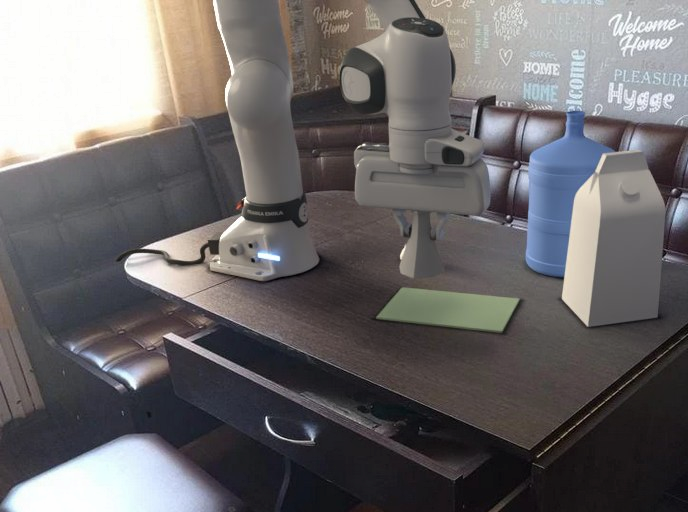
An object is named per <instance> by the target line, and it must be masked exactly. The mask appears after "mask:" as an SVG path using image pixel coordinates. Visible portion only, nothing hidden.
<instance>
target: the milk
mask: <svg viewBox="0 0 688 512" xmlns="http://www.w3.org/2000/svg"><path fill="white" fill-rule="evenodd" d="M665 224H666V203H665V201H664V197H663V195H662V194H661V192H660V189H659V187H658V185H657V182H656V181H655V179H654V177H653V174H652V173H651V170H650V169H649V165H648V162H647V159H646V156H645V154H644V151H643V150H641V149H633V150H632V149H631V150H623V151H615V152H612V153H603V154H602V157H601V159H600V161H599V164H598V166H597V168H596V170H595V173H594V174H593V175H592V176H591V177H590V178H589V179H588V180H587V181H586V182H585V183H584V184H583V186H582V187H581V188H580V189H579V190H578V192H577V193H576V195H575V199H574V205H573V213H572V221H571V229H570V237H569V245H568V253H567V261H566V269H565V277H564V278H563V285H562V294H561V300H562V301H563V302H564V303H565V304H566V305H567V306H568V307H569V309H570V310H571V311H572V312H573V313H574V314H575V315H576V316H577V317H578V318H579V319H580V321H581V322H582V323H583V324H585V326H586V327H587V328H592V327H598V326H605V325H612V324H620V323H627V322H634V321H642V320H649V319H656V318H658V317H659V305H660V292H661V277H662V266H663V265H662V264H663V254H664V253H663V252H664V251H663V250H664V240H665Z"/></svg>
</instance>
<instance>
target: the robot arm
mask: <svg viewBox="0 0 688 512" xmlns="http://www.w3.org/2000/svg"><path fill="white" fill-rule="evenodd" d="M212 1H213V7H214V13H215V19H216V24H217V29H218V30H219V32H220V35H221V38H222V41H223V45H224V48H225V51H226V56H227V59H228V62H229V66H230V71H231V75H230V76H229V79H228V81H227V83H226V86H225V92H224V93H225V94H224V95H225V96H224V97H225V105H226V108H227V112H228V116H229V122H230V125H231V130H232V134H233V137H234V141H235V144H236V148H237V151H238V155H239V159H240V164H241V165H240V166H241V171H242V177H243V183H244V190H245V195H246V196H245V197H244V198H242V199H241V200H240V201H239V202H237V203H236V204H235V206H237V207H236V208H235V210H237V211H239V210H240V209H242V210H241V215H240V217H238V218H237V219H236V220H235V221H234V222H233V223H232V224H231V225H230V226H229V227H228V228H227V229H226V230H224V231H216V232H215V233H213V235H211V236H210V237H209V238H208V239H207V242H205V243H204V244H202V245H201V247H200V248H199V254H200V257H198V258H197V259H195V260H181V259H173V258H171V257H170V254H169V253H168V252H167V251H166V250H162V249H154V248H153V249H152V248H132V249H128V250H126V251H124V252H122V253H120V254H119V255H118V256H117V257H116V258H115V260H114V261H115V263H118V262H121V261H122V260H123V259H124V258H126V257H128V256H131V255H135V254H152V255H158V256H159V255H160V256H163V257H164V259H165V261H166V262H167V263H169V264H172V265H178V266H193V265H198V264H202V263H203V262H204V261H205V260H206V258H207V257H206V250H207V249H208V250H209V255H211V256H214V257H213V258H212V259H211V261H210V262H209V270H210V271H211V272H217V273H221V274H226V275H231V276H236V277H241V278H245V279H250V280H255V281H259V282H269V281H272V280H274V279H278V278H281V277H288V276H295V275H297V274H302V273H304V272H308V271H309V270H311V269H313V268H315V267H317V265H318V264H319V262H320V257H319V255H318V253H317V250H316V247H315V244H314V241H313V238H312V234H311V230H310V225H309V209H308V202H307V201H308V200H307V195H306V192H305V191H304V189H303V188H304V187H303V180H302V170H301V162H300V153H299V149H298V144H297V141H296V135H295V130H294V124H293V118H292V111H291V100H292V98H293V94H294V90H295V89H294V88H295V87H294V79H293V74H292V73H293V72H292V68H291V62H290V57H289V52H288V47H287V41H286V37H285V32H284V27H283V23H282V16H281V9H280V3H279V0H212ZM364 2H365V3H367V4H368V6H369V7H370V8H371V9H372V11H373V12H374V14H375V16H376V17H377V19H378V21H379V22H380V23H381V26H382V27H383V29H384V30H385V31H384V32H383V33H381V34H380V35H379V36H377V37H375V38H373V39H372V40H369V41H367V42H364V43H362V44H359V45H356V46H353V47H351V48H349V50H347V52H345V54H344V56H343V58H342V61H341V64H340V66H339V72H338V73H339V75H338V77H339V88H340V92H341V95H342V98H343V100H344V101H345V102H346V104H347V105H348V106H349V107H350V109H351V110H352V111H354V112H356V113H357V114H359V115H367V116H374V115H379V114H386V115H387V116H388V142H371V141H364V142H362V144H360V145H357V146H356V148H355V150H354V152H353V165H354V167H355V169H356V170H355V179H354V199H355V202H356V203H357V204H358V205H359V207H365V208H377V209H378V208H380V209H390V210H391V214H392V217H393V219H394V220H395V222H396V224H397V226H398V227H399V232H400V234H399V235H400V238H404V239H409V238H410V234H411V227H412V223H409V222H408V220H407V218H406V216H405V213H406V212H407V211H411V210H412V211H424V212H431V213H436V219H437V220H439V223H437V225H433V226H432V227H431V229H430V234H431V236H430V240H434V241H435V242H441V241H442V240H443V238H444V228H445V226H446V224H447V222H448V221H449V219H450V217H451V215H460V216H461V215H462V216H474V217H480V216H482V215H483V214H484V213H485V212H486V211H487V210H488V208H489V207H490V205H491V180H490V173H489V172H490V171H489V167H488V165H487V163H486V162H485V161H484V159H483V158H482V156H483V154H484V152H485V144H484V142H483V141H482V140H481V139H479V138H476V137H475V136H471V135H468V134H466V133H463V132H461V131H459V130H456V129H453V128H452V116H451V114H450V109H449V108H450V107H449V105H450V104H449V103H450V97H451V93H452V88H453V85H454V82H455V80H456V72H457V67H456V66H457V65H456V59H455V56H454V53H453V51H452V49H451V47H450V41H449V38H448V34H447V31H446V28H445V27H444V26H443V25H442V24H440V23H439V22H437V21H436V20H433V19H429V18H426V16H425V14H424V13H423V11H422V10H421V8H420V6H419V5H418V3H417V2H416V0H364ZM145 413H146V417H147V418H148V419H150V418H152V412H151V411H146V412H145Z"/></svg>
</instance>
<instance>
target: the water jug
mask: <svg viewBox="0 0 688 512" xmlns="http://www.w3.org/2000/svg"><path fill="white" fill-rule="evenodd" d="M585 115H586V112H585V111H584V110H570V111H567V112H566V122H565V133H564V136H562V137H560V138H557V139H556V140H554V141H552V142H549V143H547V144H545V145H543V146H541V147H539V148H537V149H534V150H533V151H532V152H531V154H530V155H529V164H528V170H527V171H528V173H527V175H528V212H527V229H526V230H527V231H526V249H525V263H526V264H527V266H528V267H529V268H530V269H531V270H533V271H534V272H536V273H539V274H541V275H544V276H547V277H552V278H553V277H554V278H560V279H561V278H563V279H564V277H565V269H566V261H567V253H568V245H569V237H570V229H571V221H572V213H573V205H574V199H575V195H576V193H577V192H578V190H579V189H580V188H581V187H582V186H583V184H584V183H585V182H586V181H587V180H588V179H589V178H590V177H591V176H592V175H593V174H594V173H595V170H596V168H597V166H598V164H599V161H600V159H601V157H602V154H603V153H612V152H616V150H614V149H612V148H611V147H609V146H607V145H605V144H602V143H600V142H598V141H595V140H594V139H591V138H589V137H587V136H585V134H584V129H585V128H584V127H585Z"/></svg>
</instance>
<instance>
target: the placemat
mask: <svg viewBox="0 0 688 512" xmlns="http://www.w3.org/2000/svg"><path fill="white" fill-rule="evenodd" d="M520 301H521V299H520V298H519V297H507V296H498V295H489V294H488V295H487V294H477V293H467V292H455V291H446V290H445V291H444V290H436V289H435V290H434V289H426V288H425V289H424V288H415V287H414V288H413V287H405V286H404V287H403V286H402V287H401V288H400V289H399V290H398V292H396V293H395V294H394V296H393V297H392V298H391V299H390V301H388V303H387V304H386V305H385V306H384V308H383V309H382V310H381V311H380V312H379V313H378V314H377V316H376V317H375V319H376V320H381V321H391V322H400V323H409V324H418V325H424V326H425V325H426V326H436V327H443V328H452V329H453V328H454V329H462V330H471V331H480V332H487V333H488V332H489V333H498V334H503V332H504V331H505V328H506V326H507V325H508V324H509V321H510V320H511V317H512V315H513V313H514V312H515V310H516V308H517V306H518V304H519V303H520Z"/></svg>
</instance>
